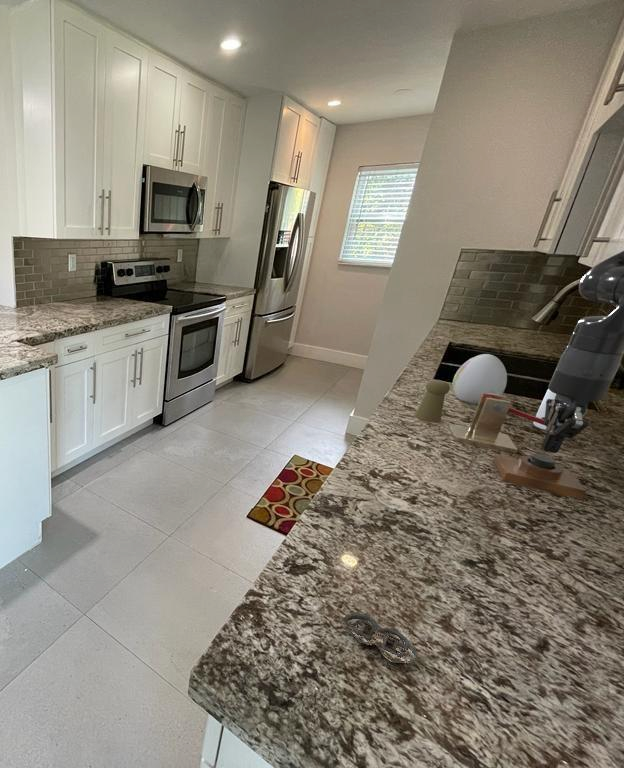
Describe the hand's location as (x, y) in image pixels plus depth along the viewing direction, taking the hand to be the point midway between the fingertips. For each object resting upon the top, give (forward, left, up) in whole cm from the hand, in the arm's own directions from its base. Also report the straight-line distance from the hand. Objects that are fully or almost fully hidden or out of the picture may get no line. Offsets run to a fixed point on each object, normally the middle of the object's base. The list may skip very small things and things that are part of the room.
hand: (548, 450), depth 85 cm
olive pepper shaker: (+16, -26, -7) cm, 32 cm away
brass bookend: (+6, -17, -7) cm, 20 cm away
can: (-12, -36, -7) cm, 39 cm away
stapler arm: (+2, -17, 0) cm, 17 cm away
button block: (0, 0, -7) cm, 7 cm away
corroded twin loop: (+30, +61, -7) cm, 68 cm away
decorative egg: (+2, -50, -7) cm, 51 cm away
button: (0, 0, -4) cm, 4 cm away
